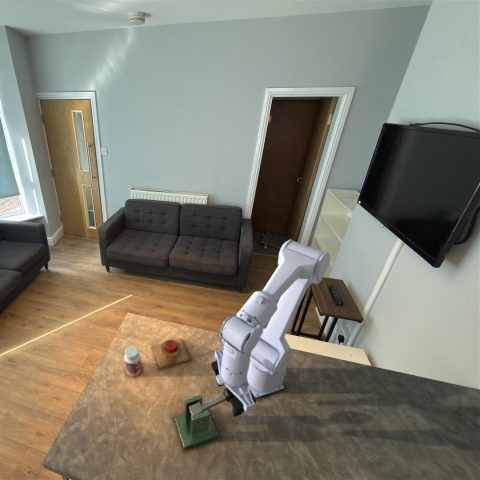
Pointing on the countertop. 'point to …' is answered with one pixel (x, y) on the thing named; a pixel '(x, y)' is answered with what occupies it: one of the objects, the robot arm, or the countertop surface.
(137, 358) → the pill bottle
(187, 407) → the bracket
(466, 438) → the countertop surface
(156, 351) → the button block
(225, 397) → the lever
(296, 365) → the countertop surface
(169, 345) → the button
